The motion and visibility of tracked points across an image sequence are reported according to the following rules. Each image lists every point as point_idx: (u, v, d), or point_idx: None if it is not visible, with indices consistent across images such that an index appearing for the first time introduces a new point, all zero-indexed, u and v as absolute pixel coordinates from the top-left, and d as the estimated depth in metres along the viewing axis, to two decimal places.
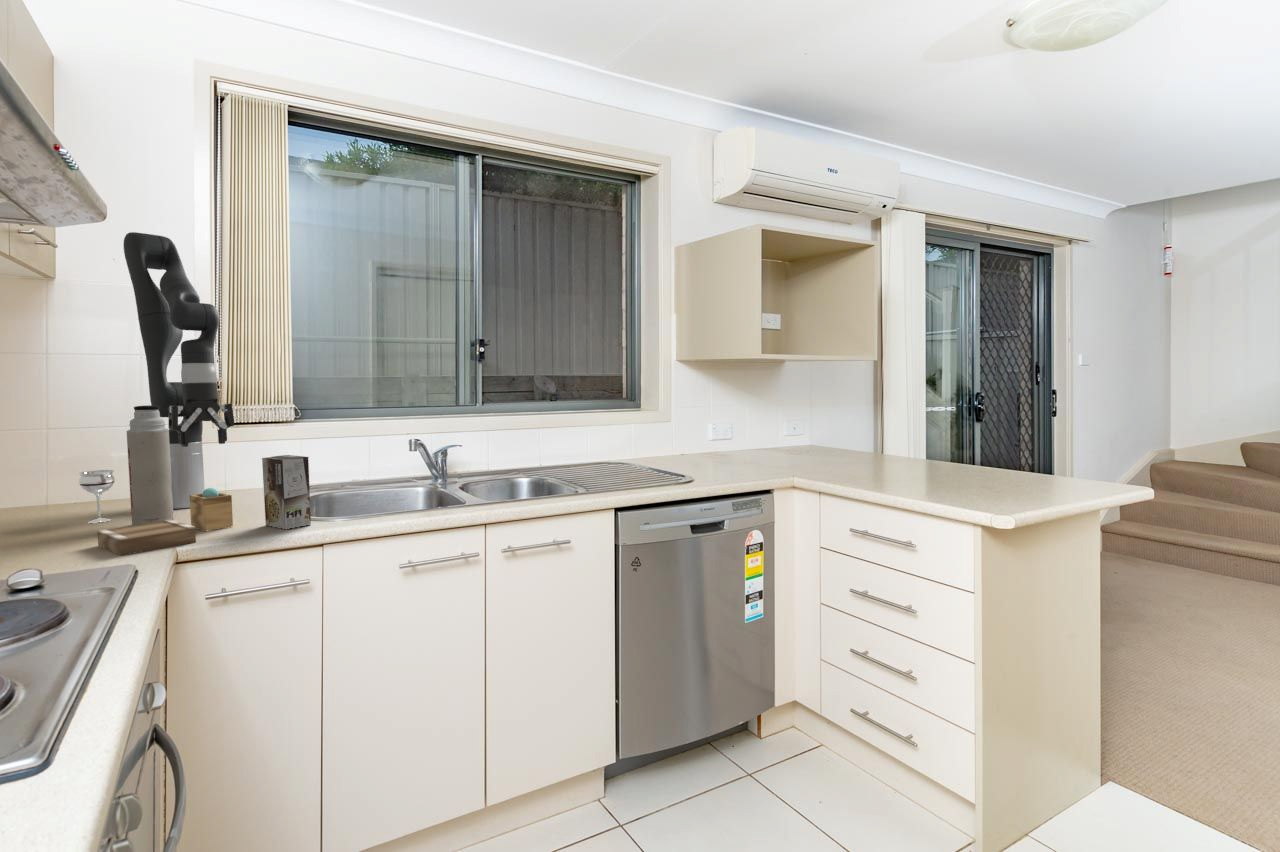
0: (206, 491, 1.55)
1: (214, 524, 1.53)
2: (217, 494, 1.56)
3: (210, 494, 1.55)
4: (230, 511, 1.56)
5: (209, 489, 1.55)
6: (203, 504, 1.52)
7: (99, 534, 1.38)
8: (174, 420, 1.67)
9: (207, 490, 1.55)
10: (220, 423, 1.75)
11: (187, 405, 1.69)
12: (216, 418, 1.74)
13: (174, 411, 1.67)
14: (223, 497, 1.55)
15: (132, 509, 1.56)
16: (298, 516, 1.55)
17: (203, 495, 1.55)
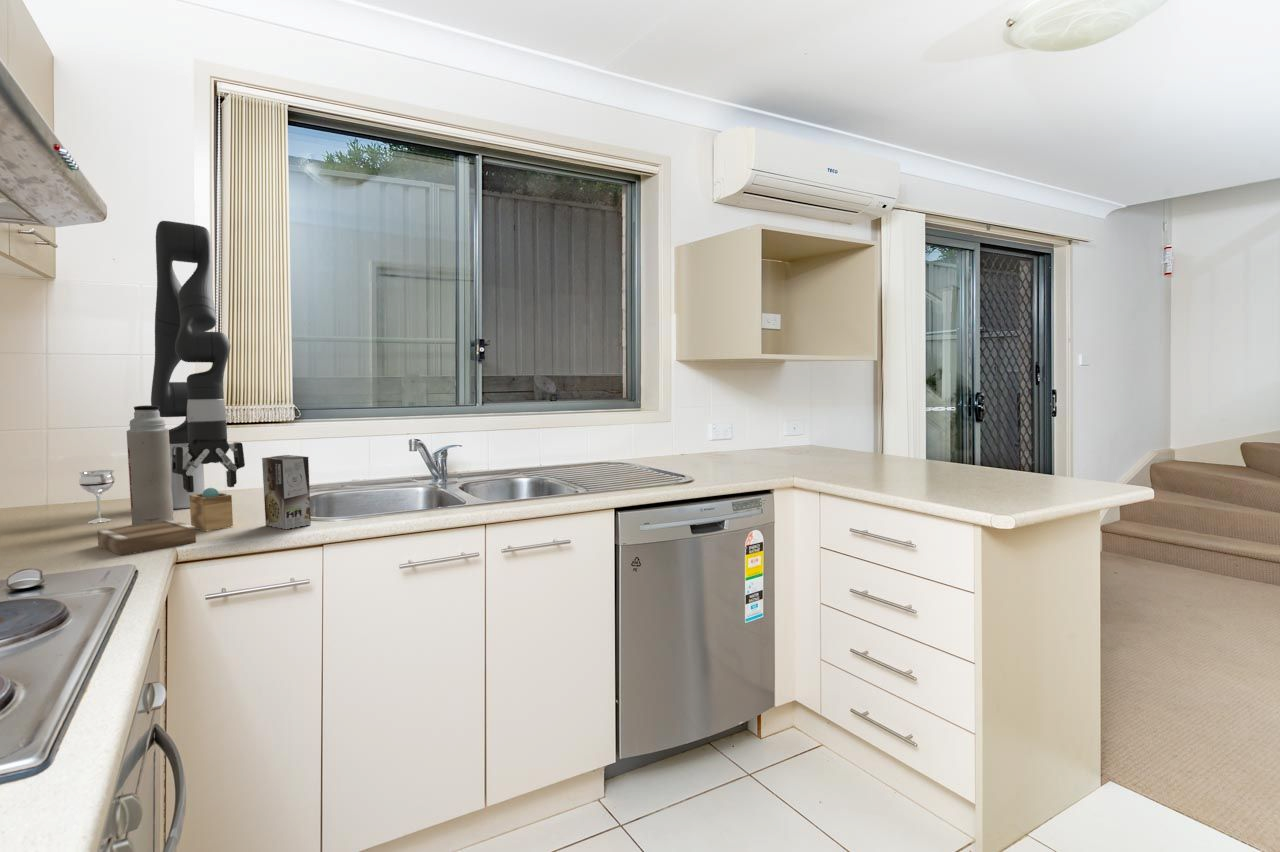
0: (206, 491, 1.55)
1: (214, 524, 1.53)
2: (217, 494, 1.56)
3: (210, 493, 1.55)
4: (230, 511, 1.56)
5: (209, 489, 1.55)
6: (203, 504, 1.52)
7: (99, 534, 1.38)
8: (178, 463, 1.49)
9: (207, 490, 1.55)
10: (229, 465, 1.58)
11: (193, 446, 1.52)
12: (225, 459, 1.57)
13: (179, 453, 1.49)
14: (223, 497, 1.55)
15: (132, 509, 1.56)
16: (298, 516, 1.55)
17: (203, 495, 1.55)
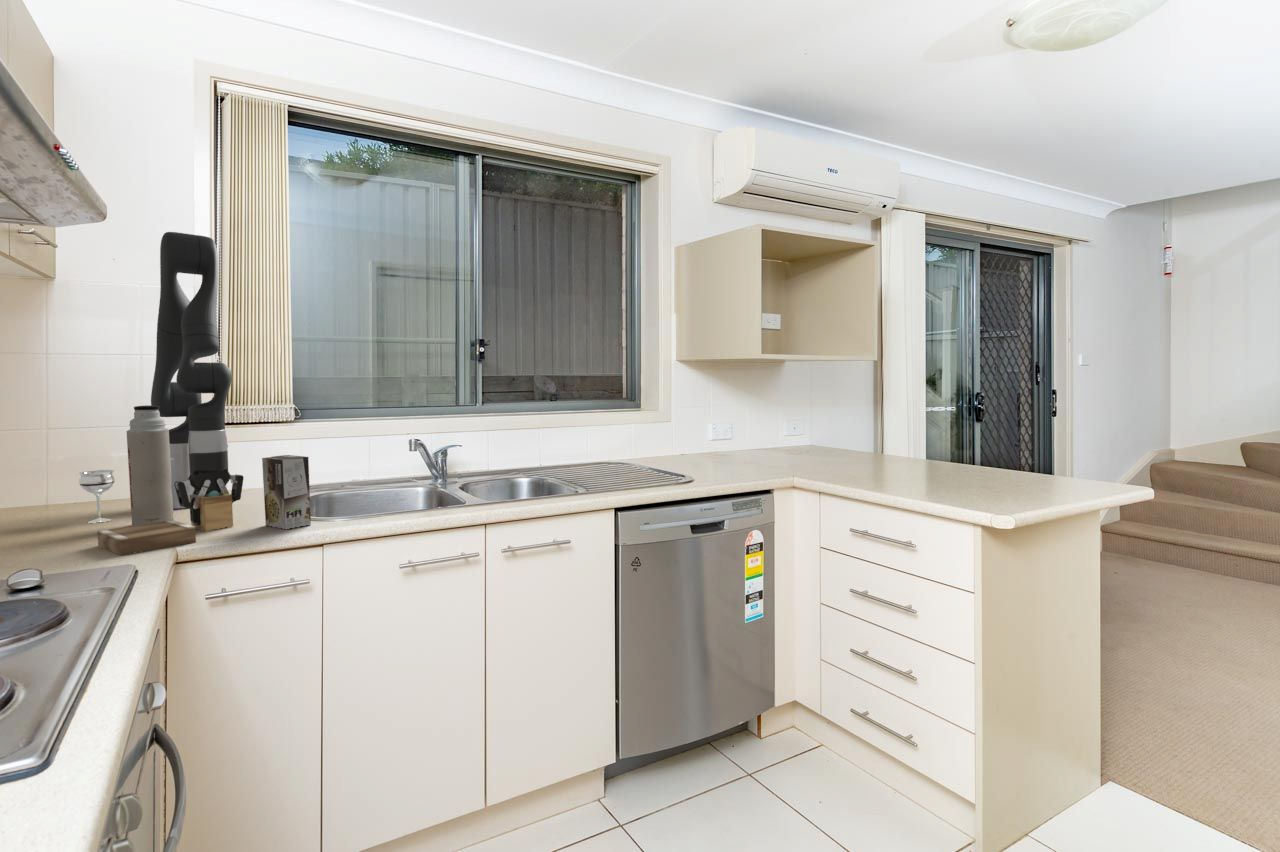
0: None
1: (214, 524, 1.53)
2: (218, 493, 1.57)
3: (211, 492, 1.55)
4: (230, 511, 1.56)
5: None
6: (203, 503, 1.52)
7: (99, 534, 1.38)
8: (184, 498, 1.51)
9: None
10: None
11: (194, 478, 1.52)
12: (223, 491, 1.57)
13: (181, 488, 1.50)
14: (223, 496, 1.55)
15: (132, 509, 1.56)
16: (298, 516, 1.55)
17: None
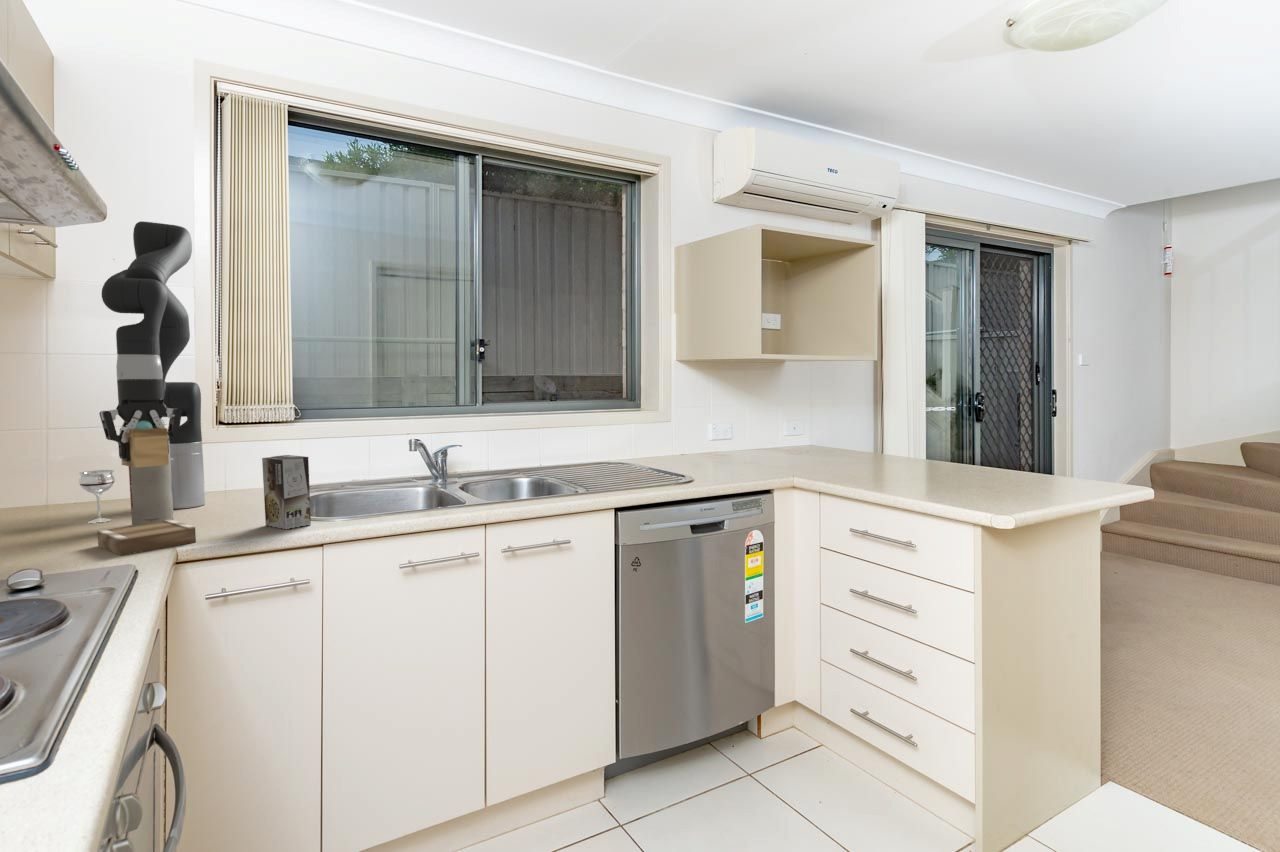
0: (139, 428, 1.36)
1: (146, 460, 1.36)
2: None
3: None
4: (165, 446, 1.39)
5: (142, 426, 1.37)
6: (133, 436, 1.35)
7: (99, 534, 1.38)
8: (110, 429, 1.34)
9: (140, 427, 1.36)
10: None
11: (122, 407, 1.35)
12: (158, 425, 1.40)
13: (107, 418, 1.33)
14: (157, 430, 1.38)
15: (132, 509, 1.56)
16: (298, 516, 1.55)
17: None
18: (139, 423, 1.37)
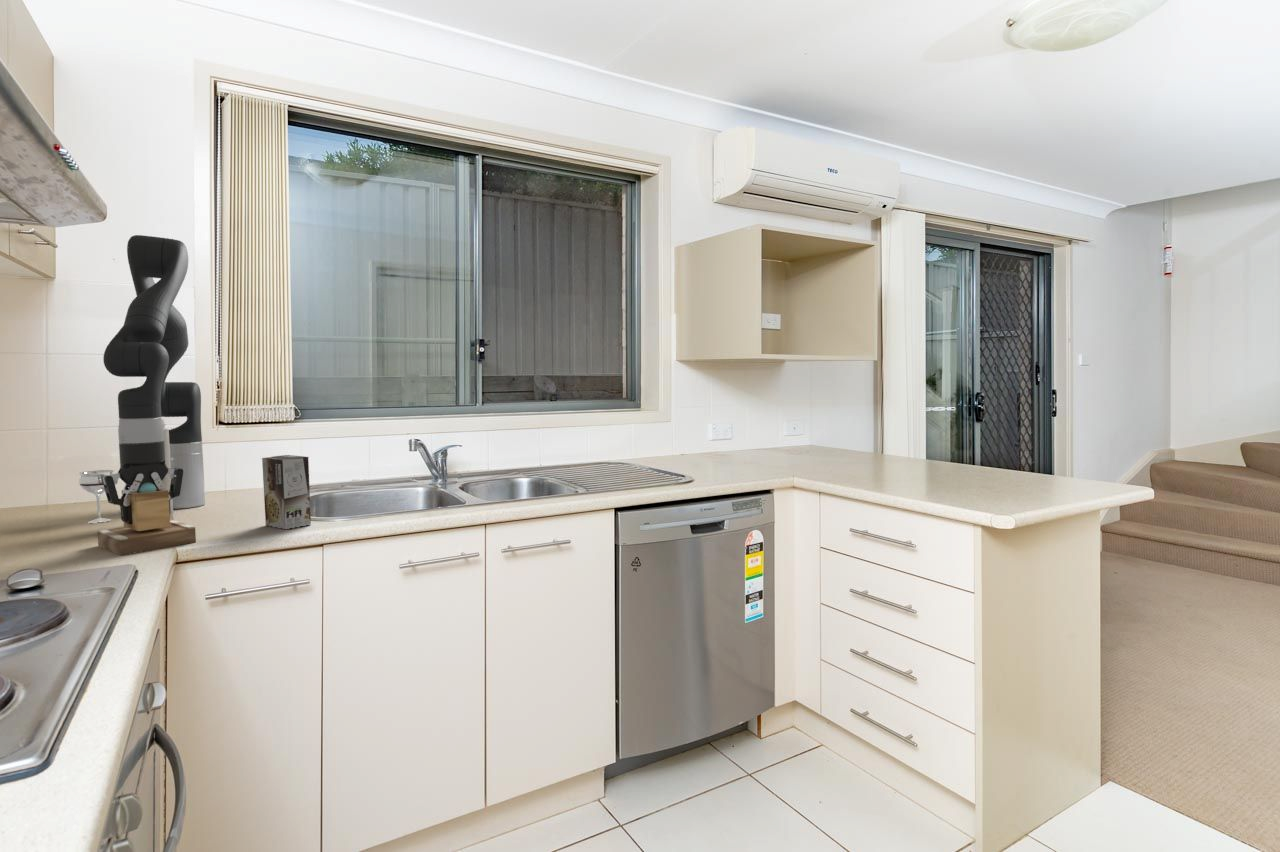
0: (144, 488, 1.38)
1: (147, 523, 1.37)
2: None
3: None
4: (167, 508, 1.40)
5: (148, 486, 1.38)
6: (135, 500, 1.36)
7: (99, 534, 1.38)
8: (112, 494, 1.34)
9: (145, 487, 1.38)
10: None
11: (124, 471, 1.36)
12: (159, 486, 1.40)
13: (109, 483, 1.34)
14: (158, 492, 1.38)
15: None
16: (298, 516, 1.55)
17: (139, 491, 1.38)
18: (145, 483, 1.39)
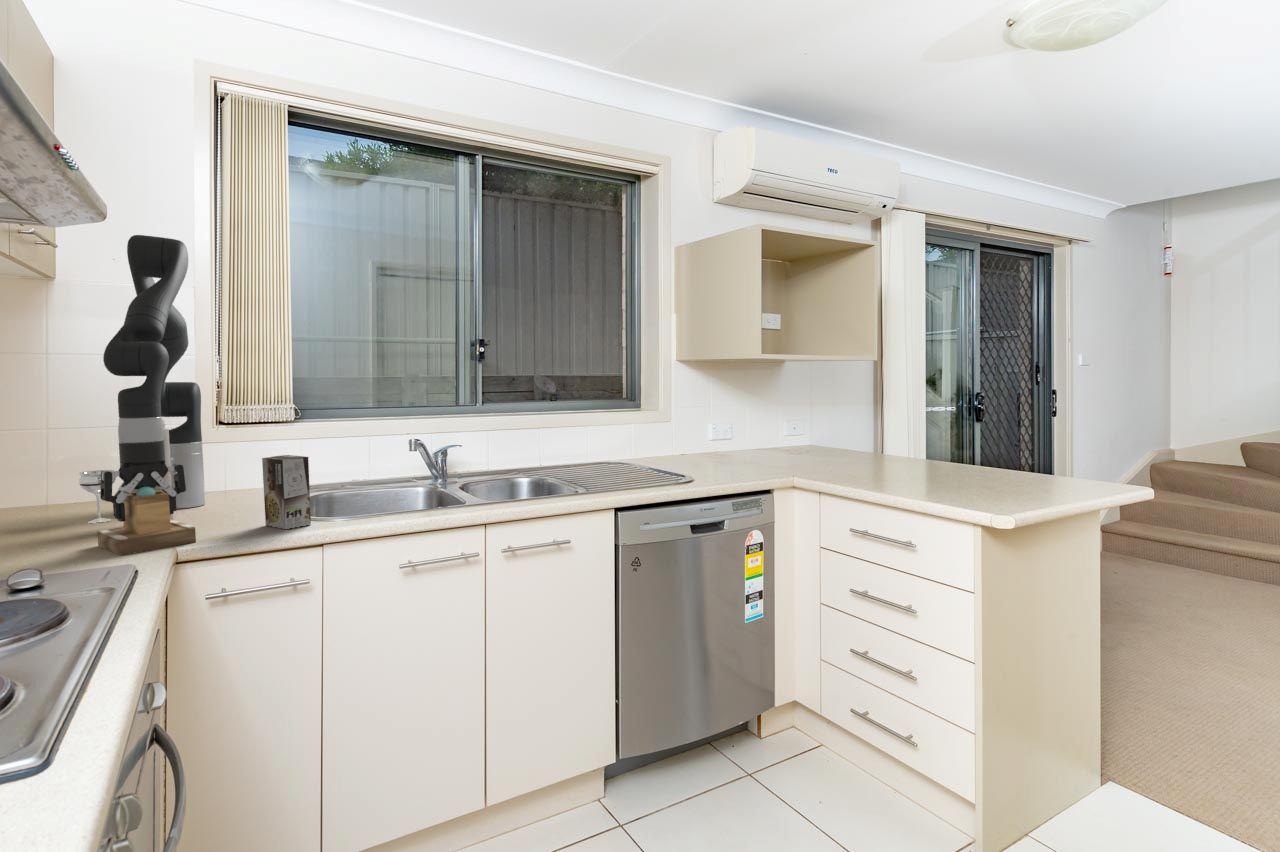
0: None
1: (148, 526, 1.37)
2: None
3: None
4: (167, 511, 1.40)
5: (146, 494, 1.37)
6: (135, 504, 1.36)
7: (99, 534, 1.38)
8: (107, 490, 1.34)
9: (144, 495, 1.37)
10: (167, 489, 1.42)
11: (124, 470, 1.36)
12: (162, 484, 1.41)
13: (107, 479, 1.33)
14: (159, 496, 1.38)
15: None
16: (298, 516, 1.55)
17: None
18: (143, 490, 1.37)
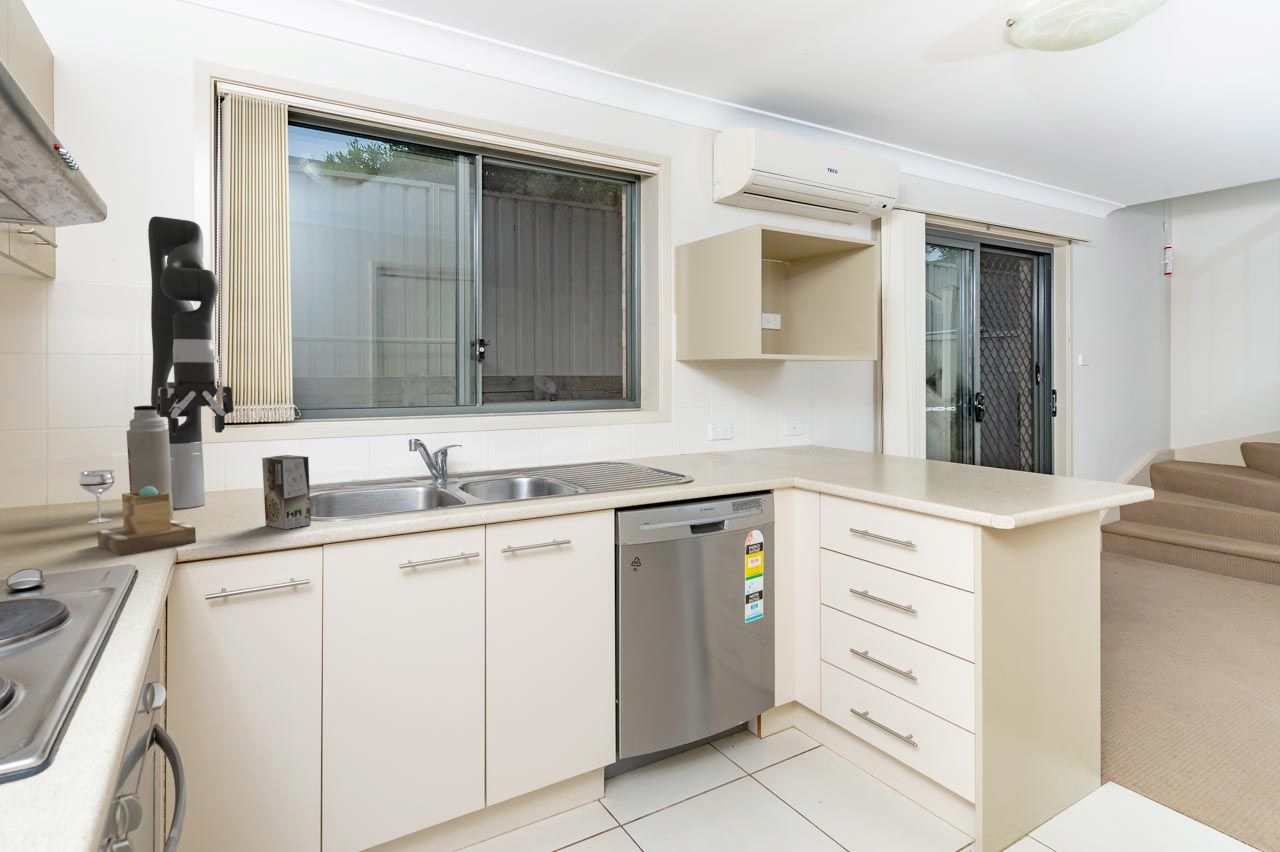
0: (145, 494, 1.38)
1: (148, 526, 1.37)
2: None
3: None
4: (167, 511, 1.40)
5: (150, 493, 1.38)
6: (135, 504, 1.36)
7: (99, 534, 1.38)
8: (163, 405, 1.44)
9: (147, 494, 1.38)
10: (217, 409, 1.52)
11: (179, 388, 1.46)
12: (212, 403, 1.51)
13: (163, 394, 1.44)
14: (159, 496, 1.38)
15: None
16: (298, 516, 1.55)
17: (140, 495, 1.38)
18: (147, 489, 1.38)
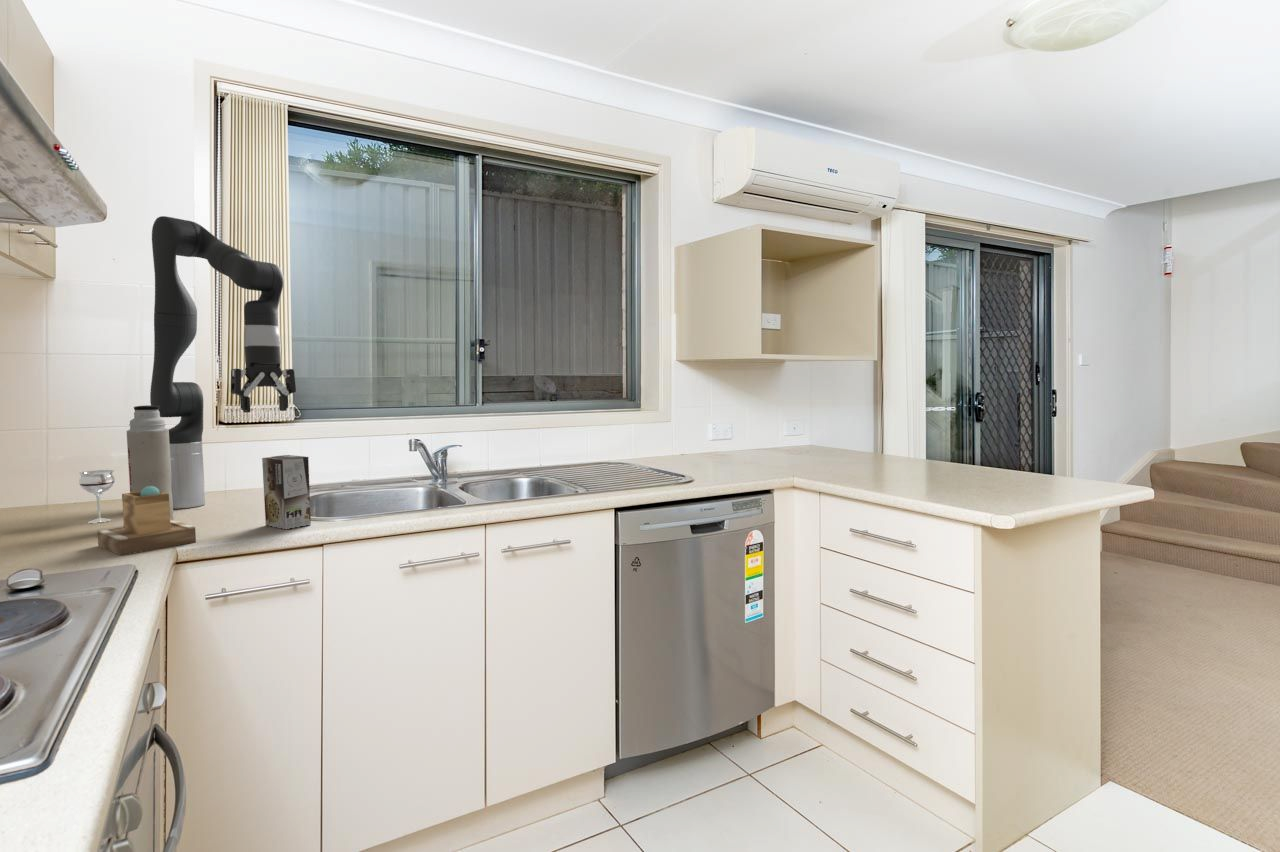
0: (147, 494, 1.38)
1: (148, 526, 1.37)
2: None
3: None
4: (167, 511, 1.40)
5: (151, 493, 1.38)
6: (135, 504, 1.36)
7: (99, 534, 1.38)
8: (237, 384, 1.59)
9: (149, 493, 1.38)
10: (282, 389, 1.67)
11: (250, 369, 1.61)
12: (278, 384, 1.66)
13: (237, 375, 1.59)
14: (159, 496, 1.38)
15: None
16: (298, 516, 1.55)
17: (142, 494, 1.38)
18: (150, 489, 1.38)
